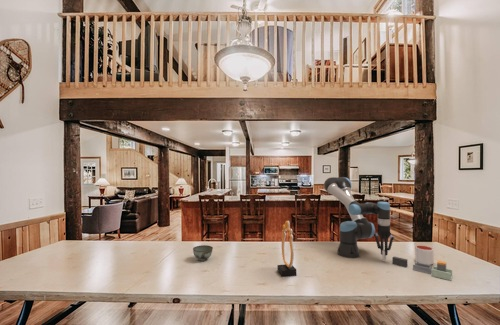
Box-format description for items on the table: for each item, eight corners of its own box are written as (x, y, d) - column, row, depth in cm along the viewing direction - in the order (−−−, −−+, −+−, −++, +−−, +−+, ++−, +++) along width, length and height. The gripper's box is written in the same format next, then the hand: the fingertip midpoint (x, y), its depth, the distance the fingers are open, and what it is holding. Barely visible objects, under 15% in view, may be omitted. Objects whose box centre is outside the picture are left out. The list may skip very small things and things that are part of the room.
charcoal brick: (392, 264, 171) (392, 257, 171) (393, 263, 173) (393, 256, 173) (406, 267, 165) (406, 260, 165) (407, 266, 167) (407, 259, 167)
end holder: (431, 276, 152) (431, 269, 152) (433, 272, 158) (433, 265, 158) (450, 280, 146) (450, 273, 146) (452, 276, 151) (452, 269, 152)
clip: (413, 270, 161) (412, 265, 161) (415, 266, 166) (415, 262, 166) (430, 274, 155) (430, 269, 155) (432, 270, 160) (432, 265, 160)
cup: (436, 266, 168) (436, 250, 168) (419, 264, 170) (419, 249, 170) (429, 260, 177) (428, 246, 178) (412, 259, 179) (412, 245, 180)
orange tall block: (437, 275, 152) (437, 262, 152) (438, 273, 155) (437, 260, 155) (445, 277, 149) (445, 263, 149) (446, 275, 152) (446, 261, 152)
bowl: (188, 261, 175) (188, 249, 175) (199, 255, 188) (199, 244, 188) (206, 264, 170) (206, 252, 170) (216, 257, 183) (216, 246, 183)
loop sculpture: (275, 268, 163) (275, 218, 164) (288, 267, 165) (288, 217, 166) (284, 280, 147) (284, 224, 147) (299, 278, 149) (299, 223, 149)
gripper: (371, 224, 178) (372, 258, 177) (393, 227, 169) (393, 263, 168) (375, 222, 183) (375, 256, 183) (396, 225, 174) (396, 260, 174)
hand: (384, 259), depth 175 cm, fingers closed
